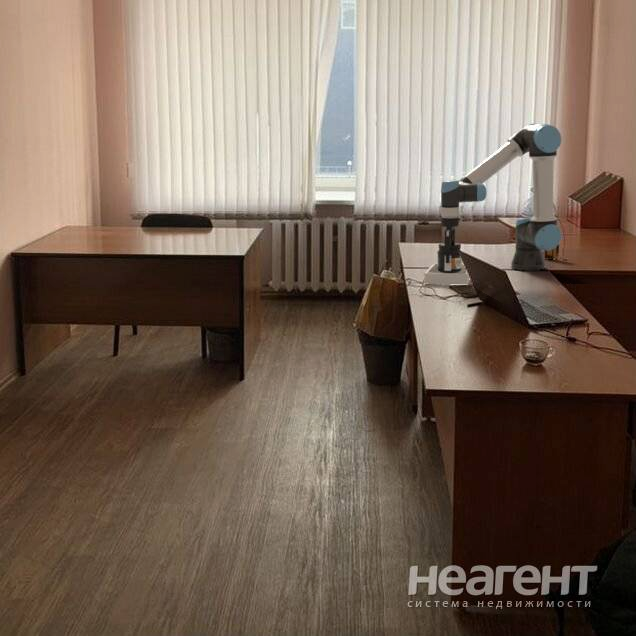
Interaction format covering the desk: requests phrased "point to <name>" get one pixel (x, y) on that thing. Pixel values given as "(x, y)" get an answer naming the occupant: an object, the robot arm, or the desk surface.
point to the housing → (445, 276)
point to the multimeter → (553, 251)
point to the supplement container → (455, 258)
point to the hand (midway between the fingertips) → (449, 268)
